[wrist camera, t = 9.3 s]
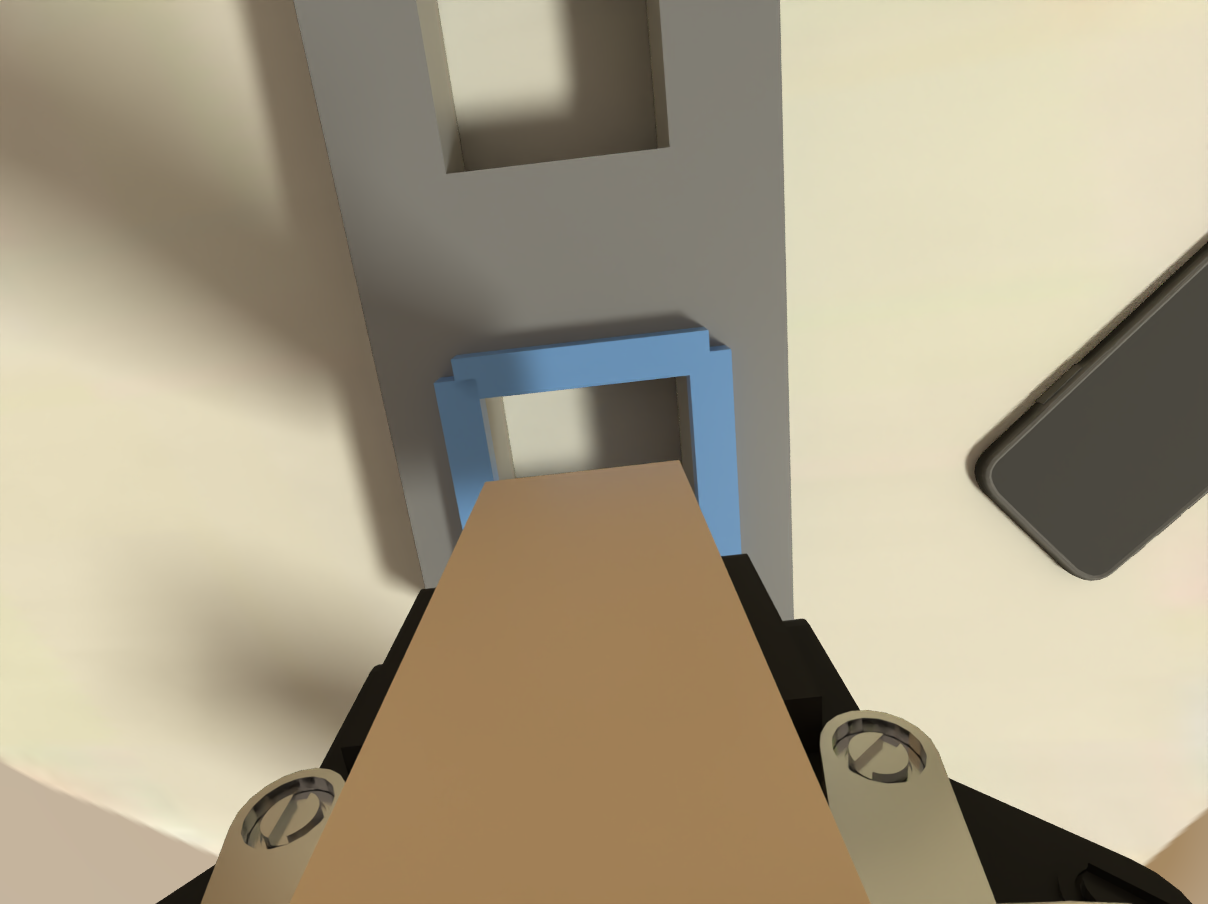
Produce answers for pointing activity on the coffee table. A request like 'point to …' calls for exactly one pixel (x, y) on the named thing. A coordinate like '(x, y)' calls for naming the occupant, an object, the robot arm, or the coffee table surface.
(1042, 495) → the smartphone
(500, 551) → the tan rectangular block
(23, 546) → the coffee table surface
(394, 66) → the square hole board
